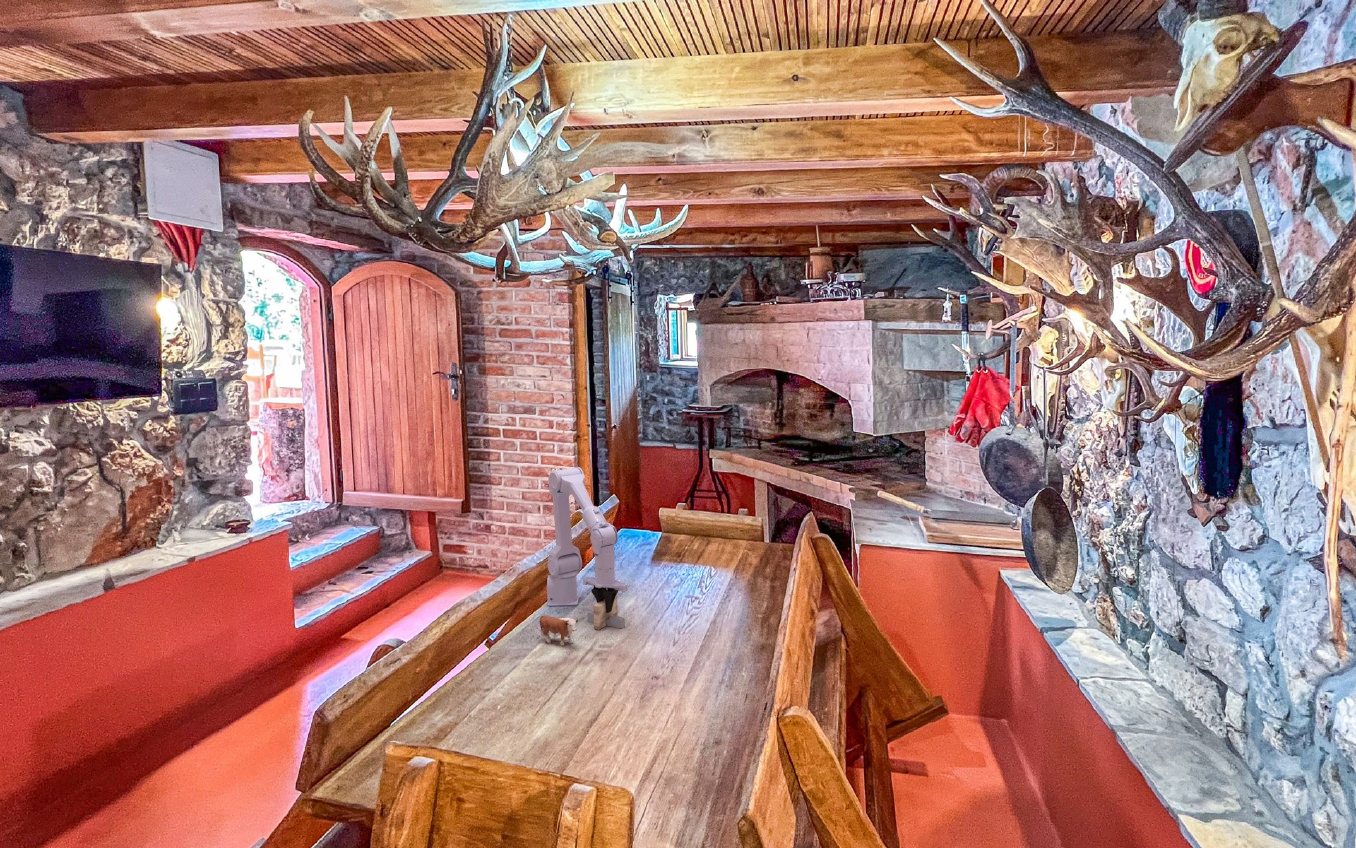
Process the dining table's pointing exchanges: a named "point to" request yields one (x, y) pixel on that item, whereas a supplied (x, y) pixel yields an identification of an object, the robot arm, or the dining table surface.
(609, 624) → the slate rail
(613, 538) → the robot arm
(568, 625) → the bull figurine
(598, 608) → the beige slab block
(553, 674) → the dining table surface
